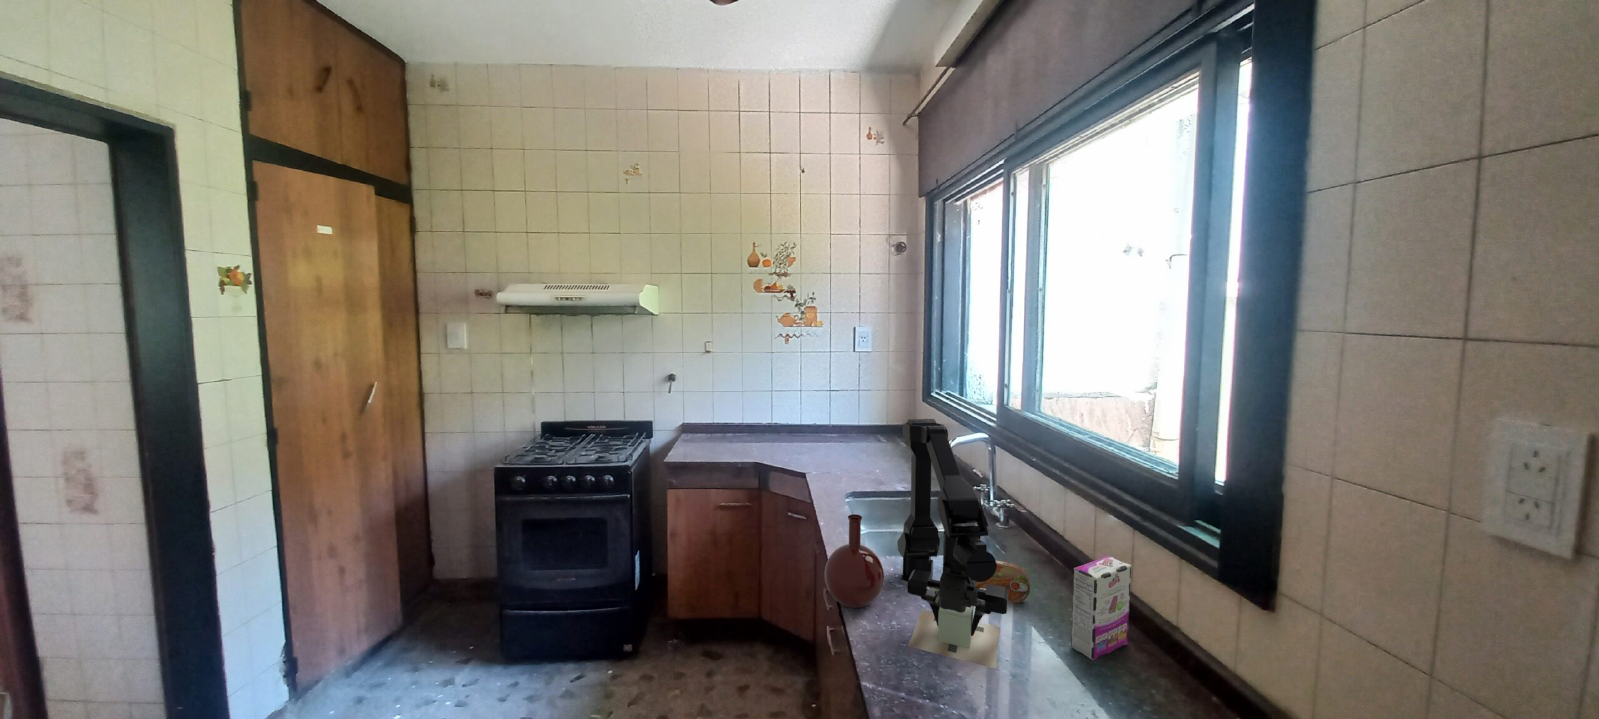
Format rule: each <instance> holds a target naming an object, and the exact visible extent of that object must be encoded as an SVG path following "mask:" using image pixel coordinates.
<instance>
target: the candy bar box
mask: <svg viewBox="0 0 1599 719" xmlns="http://www.w3.org/2000/svg"><path fill="white" fill-rule="evenodd" d="M1131 575H1132V564H1129V563H1127V562H1124V561H1122V560H1121V559H1118V558H1116V557H1114V556H1110V555H1107V556H1105V557H1102V558H1099V559H1096V560H1093V561H1091V562H1088V563H1084V564H1083V565H1079V566H1076V567H1074V568H1073V580H1072V581H1073V583H1072V584H1073V585H1072V586H1073V587H1072V588H1073V589H1072V611H1071V612H1072V613H1071V614H1072V615H1071V619H1072V620H1071V638H1070V639H1071V640H1070V641H1071V642H1070V647H1071V649H1072V650H1075V652H1078V653H1080V654H1081V655H1083V656H1084V657H1086V658H1088V659H1089V660H1091V661H1096V660H1098V659H1100V658H1102V657H1104V656H1106V655H1108V654H1111V653H1112V652H1114V651H1116V650H1117V649H1120V648H1122V647H1124V646H1126V645H1129V625H1130V624H1129V622H1130V621H1129V620H1130V600H1131V581H1132V580H1131V579H1132V576H1131Z"/></svg>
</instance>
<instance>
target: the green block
mask: <svg viewBox="0 0 1599 719" xmlns="http://www.w3.org/2000/svg"><path fill="white" fill-rule="evenodd" d="M974 607H975V606H971V608H969V607H966V610H965V612H962V613H960V612H957V611H954V610H950V609H943V608H941V607H940V609H939V616H938V641H940V642H944V643H948V644H953V645H957V646H961V647H965V648H969V649H970V643H971V638H972V636H971V627H972V622H973V617H974V612H975V608H974Z"/></svg>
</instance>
